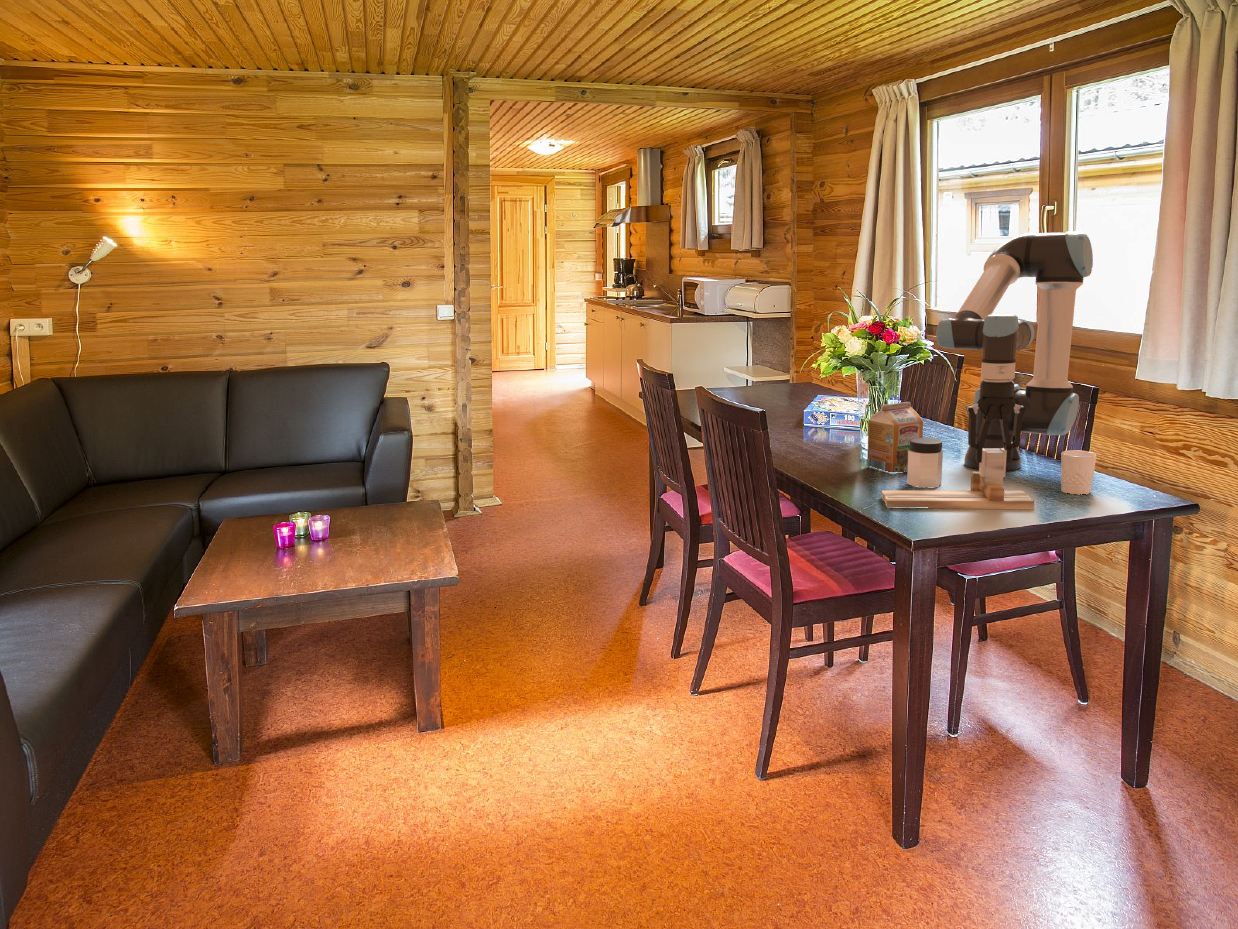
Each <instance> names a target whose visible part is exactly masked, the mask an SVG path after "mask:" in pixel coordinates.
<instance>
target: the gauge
mask: <svg viewBox="0 0 1238 929" xmlns="http://www.w3.org/2000/svg"><path fill="white" fill-rule="evenodd" d="M984 449H985V450H986V462H985V477H981V476H980V475H979V471H971V476H970V477H971V478H970V481H971V482H970V491H981V492H982V493H983V494H984V495H985V496H986V497H987V498H988V499H989V500H990V501H1004V491H1005V487H1003V485H1004V477H1003V473H1004V457H1005V453H1004V452H1003V451H1002V450H1001V449H999V448H984Z"/></svg>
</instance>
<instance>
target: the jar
mask: <svg viewBox="0 0 1238 929" xmlns="http://www.w3.org/2000/svg"><path fill="white" fill-rule="evenodd" d="M943 454H944V450H943V441H942V440H940V439H937V438H931V437H923V438H915V439H911V440H910V450H909V451H908V471H907V476H906V484H907V483H908V484H910V485H913V486H918V487H937V488H938V487H940V486H941V485H942V477H943V457H944V456H943ZM939 485H940V486H939ZM913 486H912V487H913Z"/></svg>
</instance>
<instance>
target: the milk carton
mask: <svg viewBox="0 0 1238 929" xmlns="http://www.w3.org/2000/svg"><path fill="white" fill-rule="evenodd" d="M867 423H868V425H867V428H868V429H867V430H868V431H867V461H866V463H867V464H866V465H868V466H872V467H875V468H877V469H882V470H885V471H888V472H904V471H908V451H909V450H910V440H911V439H915V438H924V437H923V436H924V420H923V418H922V417H921V415H920V414H919V413H917V411H916V410H915V409H914V408H913V407H912V403H911V401H905V402H896V403H890V404H889V403H888V404H882V405H881V406H880V410H879V411H877V412H875V413H874V414H873V415H871V417H870V418H869V419H868V422H867Z"/></svg>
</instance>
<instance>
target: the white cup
mask: <svg viewBox="0 0 1238 929" xmlns="http://www.w3.org/2000/svg"><path fill="white" fill-rule="evenodd" d="M1060 456H1061V458H1060V461H1061V462H1060V472H1061V473H1060V481H1061V484H1060V486H1061V487H1060V490H1061V492H1062V493H1064V494H1067V493H1070V494H1069V495H1073V494H1077V495H1076V496H1083V495H1082V494H1086V495H1089V493H1090V494H1091V492H1092V483H1093V480H1094V475H1095V467H1096V460H1097V454H1096V453H1095V452H1092V451H1086V450H1080V449H1079V450H1076V449H1075V450H1074V449H1070V450H1064V451H1062V452H1061V455H1060ZM1080 494H1081V495H1080Z"/></svg>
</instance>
